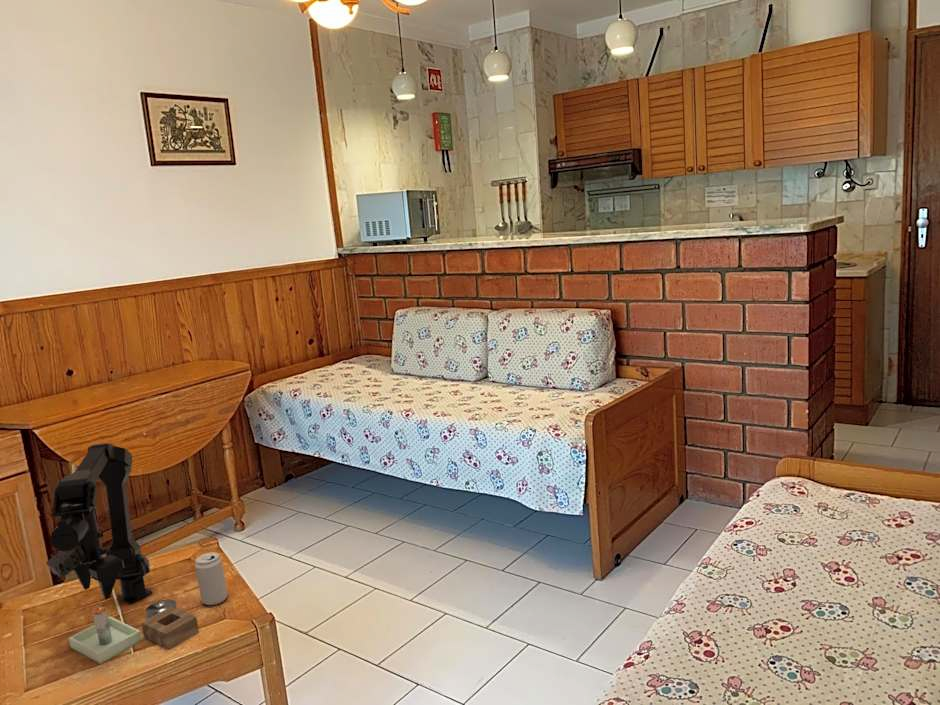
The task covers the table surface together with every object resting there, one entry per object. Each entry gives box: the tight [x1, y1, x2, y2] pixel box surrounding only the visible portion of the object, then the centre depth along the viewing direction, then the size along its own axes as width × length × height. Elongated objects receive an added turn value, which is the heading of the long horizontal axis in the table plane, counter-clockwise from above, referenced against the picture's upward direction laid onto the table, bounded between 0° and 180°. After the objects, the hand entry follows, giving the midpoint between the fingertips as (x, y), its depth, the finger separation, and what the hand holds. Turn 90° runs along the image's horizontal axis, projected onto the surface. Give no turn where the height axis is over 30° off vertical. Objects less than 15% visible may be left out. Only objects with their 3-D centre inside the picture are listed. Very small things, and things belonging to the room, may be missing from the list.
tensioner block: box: [141, 606, 200, 650], centre depth 176 cm, size 10×8×4 cm
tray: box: [68, 616, 143, 665], centre depth 175 cm, size 13×10×2 cm
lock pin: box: [91, 603, 112, 646], centre depth 174 cm, size 3×3×9 cm
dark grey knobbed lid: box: [145, 598, 178, 620], centre depth 185 cm, size 7×7×3 cm
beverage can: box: [194, 551, 228, 606], centre depth 189 cm, size 6×6×12 cm
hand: (97, 593), depth 172 cm, fingers open, 9 cm apart
